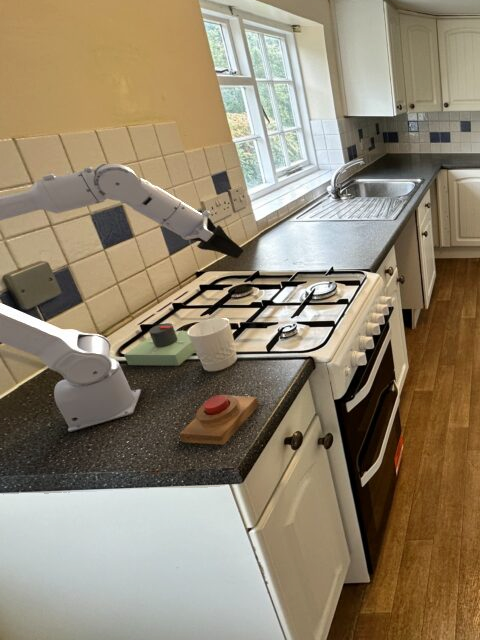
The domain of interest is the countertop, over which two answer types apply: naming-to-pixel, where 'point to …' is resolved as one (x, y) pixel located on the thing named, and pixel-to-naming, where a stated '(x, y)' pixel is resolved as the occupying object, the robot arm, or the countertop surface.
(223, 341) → the white cup
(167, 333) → the dial
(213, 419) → the button block
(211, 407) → the button
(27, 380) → the countertop surface
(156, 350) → the dial panel
